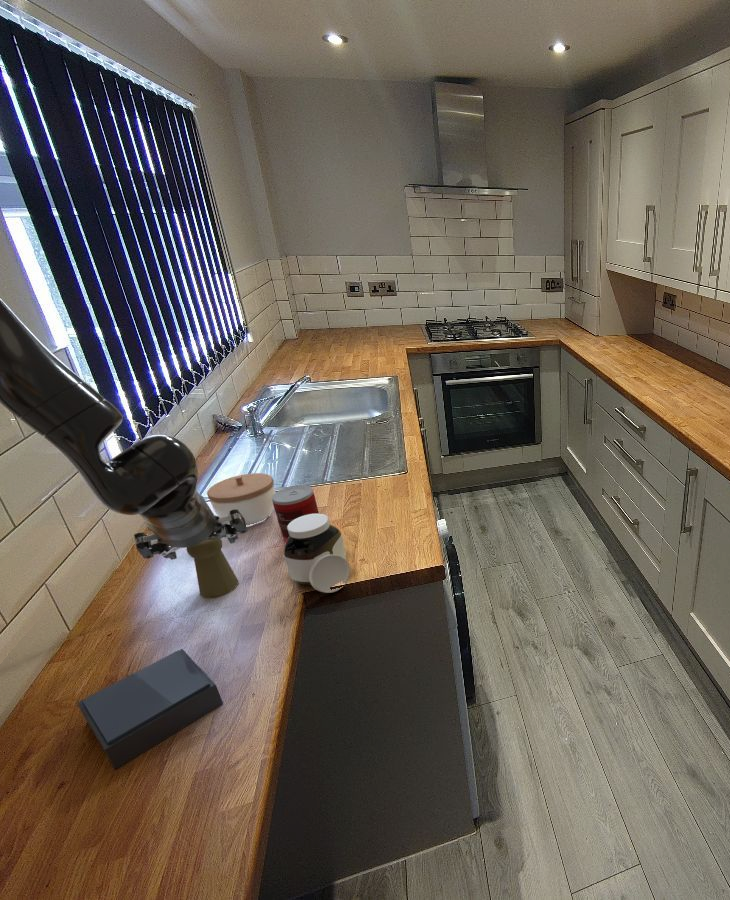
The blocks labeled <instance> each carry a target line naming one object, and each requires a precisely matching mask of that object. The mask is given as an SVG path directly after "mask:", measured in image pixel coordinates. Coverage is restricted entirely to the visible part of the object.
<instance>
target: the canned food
mask: <svg viewBox="0 0 730 900" xmlns="http://www.w3.org/2000/svg"><path fill="white" fill-rule="evenodd" d="M272 502H273V505H274V512H275V515H276V519H277V523H278V525H279V530H280V533H281V536H282V539H283V542H284V544H286V541H287V539H288V537H289V536H290V535H289V532H288V529H287V526H288V524H289V523H290V522H291V521H293V520H294V519H296V518H299V517H301V516H304V515H308V514H320V512H319V508H318V504H317V500H316V496H315V492H314V490H313V487H312V486H310V485H306V484H299V485H298V484H297V485H292V486H288V487H284V488H282V489H280V490H278V491H276V493H275V494H274V495H273V496H272Z"/></svg>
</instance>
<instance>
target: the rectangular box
mask: <svg viewBox="0 0 730 900" xmlns="http://www.w3.org/2000/svg"><path fill="white" fill-rule="evenodd" d="M76 704H77V707H78V708H79V710H80V712H81V714H82V715H83V718H84V719H85V721H86V723H87V724H88V726H89V728H90V730H91V731H92V733H93V735H94V736H95V738H96V740H97V742H98V743H99V745H100V747H101V748H102V750H103V752H104V753H105V755H106V756H107V758H108V760H109V762H110V763H111V765H112V767H113V768H114V770H115V771H116V770H118V769H119V768H121V767H123V766H124V765H126V764H127V763H129V762H131V761H133V760H134V759H136V758H137V757H139V756H141V755H143V753H145V752H147V751H149V750H151V749H152V748H153V747H155V746H157V745H158V744H160V743H162V742H164V741H165V740H166V739H168V738H170V737H171V736H173V735H175V734H177V733H178V732H180V731H181V730H183V729H184V728H186V727H188V726H189V725H191V724H193V723H194V722H196V721H197V720H199V719H201V718H202V717H204V716H206V715H207V714H209V713H211V712H212V711H214V710H215V709H217V708H218V707H220V706H222V705H223V704H224V702H223V700H222V697H221V694H220V692H219V689H218V687H217V684H216V683H215V682H214V681H213V680H212V679H211V678H210V676H208V674H207V673H206V672H204V671H203V669H202V668H201V667H200V666H199V665H198V664H197V663H196V662H195V660H193V659H192V657H191V656H189V654H188V653H187V652H186V651H185V650H184V649H183V648H180V649H178V650H176V651H174V652H172V653H170V654H168V655H166V656H164V657H163V658H160V659H159V660H156V661H155V662H153V663H151V664H149V665H147V666H144V667H143V668H141V669H139V670H137V671H135V672H133V673H131V674H129V675H127V676H125V677H124V678H122V679H119V680H117V681H116V682H114V683H112V684H110V685H108V686H106V687H104V688H102V689H100V690H99V691H96V692H95V693H93V694H91V695H88V696H87V697H85V698H83V699H81V700H80V701H78V702H77V703H76Z"/></svg>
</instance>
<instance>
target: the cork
mask: <svg viewBox="0 0 730 900" xmlns="http://www.w3.org/2000/svg"><path fill="white" fill-rule="evenodd" d="M222 547H223V540H222V539H220V540H208V539H207V540H205V541H203V542H201V543H199V544H197V545H194V546H191V547H186V552H187V554H188V556H190V557H191V558H193V560H194V568H195V572H196V578H197V584H198V591H199V595H200V596H201V597H202V598H204V599H212V598H218V597H222V596H225V595H227V594H228V593H230V592H232V591H233V590H235V589H236V587H237V586H238V585H237V583H238V582H239V578H237V575H236V574H235V572H234V570H233V568H232V567H231V565H230V563H229V561H228V559H227V557H226V555H225V553H224V552H223V550H222ZM238 584H239V583H238ZM236 585H237V586H236ZM235 586H236V587H235ZM231 590H232V591H231Z"/></svg>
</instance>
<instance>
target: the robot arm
mask: <svg viewBox="0 0 730 900" xmlns="http://www.w3.org/2000/svg"><path fill="white" fill-rule="evenodd" d="M0 404H1V405H2V406H3V408H6V409H7V410H8V411H9V412H10V413H11V414H13V415H14V416H15V417H16V418H17V419H20V421H21V422H23V423H24V424H25V425H27V426H28V427H29V428H31V429H32V430H33V431H35V433H37V434H38V435H40V436H41V437H43V438H44V439H45V440H47V441H48V442H49V443H50V444H52V445H53V446H54V447H55V448H56V449H58V451H60V452H61V454H62V455H64V457H66V459H68V461H69V462H70V463H71V465H72V466H73V467H74V468H75V469H76V470H77V472H78V473H79V475H80V476H81V477H82V479H83V480H84V482H85V483H86V484H87V486H88V487H89V489H90V490H91V492H92V493H93V495H94V496H95V497H96V498H97V500H98V501H99V502H100V504H102V506H104V507H105V508H107V509H108V510H110V511H112V512H114V513H117V514H120V515H126V516H139V517H140V518H141V519H142V520H143V522H144V524H145V526H146V528H147V529H148V530H149V532H152V533H153V534H149V533H144V532H137V533H135V534H133V537H134V543H135V548H136V550H137V552H138V553H139V554H140V555H141V556H142V558H143V559H146V560H147V559H151V558H153V557H154V555H158V556H159V557H163V558H164V559H170V560H171V561H173V560H176V559H177V558H178V556H177V551H179V550H180V549H182V548H187V547H191V546H194V545H197V544H199V543H201V542H203V541H205V540H207V539H208V540H220V539H221V540H222V539H225V538H226V539H227V540H228V542H229V543H230V544H235V543H236V540H238V539H239V535H238V533H239V534H246V533H247V532H248V528H247V527H246V523H245V519H244V517H243V516H242V515H241V513H240V512H239V511H238V510H237V509H235V510H231V511H230V514H228V516H225V517H222V518H220V517H219V516H218V515H215V514H214V512H213V511H212V509H211V507H210V505H209V504H208V503H207V501H206V500H205V498H204V497H203V495H201V494H200V492H198V491H197V486H198V484H197V483H198V479H199V466H198V463H197V459H196V457H195V455H194V454H193V452H192V451H191V449H190V448H189V447H188V446H187V444H185V442H183V441H181V440H180V439H178V438H176V437H174V436H171V435H168V434H159V433H158V434H156V433H155V434H150V435H147V436H145V437H142V438H140V439H138V440H137V441H136V442H134V443H133V444H132V445H130V446H128V447H127V448H126V449H124V450H123V451H122V452H120V453H119V454H117V455H116V456H114V457H113V458H111V459H110V460H108V461H107V462H106V461H105V460H104V458H103V457H102V454H101V446H102V445H103V443H104V442H105V441H106V439H108V437H109V436H111V434H113V433H114V432H115V431H116V429H117V428H119V426H120V425H121V424H122V422H123V419H124V418H123V417H124V415H123V414H122V413H121V411H120V410H119V409H118V408H117V407H116V406H115V405H114V404H113V403H111V402H110V401H109V400H108V399H106V398H105V397H104V396H103V395H101V394H100V393H99V392H98V391H97V390H96V389H94V387H92V386H91V385H90V384H89V383H88V382H86V381H85V380H84V379H83V378H82V377H81V376H79V374H77V373H76V372H74V371H73V370H72V369H71V368H70V367H68V366H67V365H66V363H64V362H63V361H62V360H60V358H59V357H57V356H56V355H55V354H54V353H53V352H52V351H51V350H49V349H48V347H47V346H46V345H44V344H43V343H42V342H41V340H39V339H38V337H36V336H35V335H34V334H33V332H32V331H31V330H30V329H29V328H28V327H27V326H26V324H24V323H23V322H22V320H21V319H20V318H19V317H18V316H17V315H16V314H15V313H14V311H12V310H11V308H10V307H9V306H8V305H7V304H6V302H4V301H3V300H2V299H1V298H0Z"/></svg>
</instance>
